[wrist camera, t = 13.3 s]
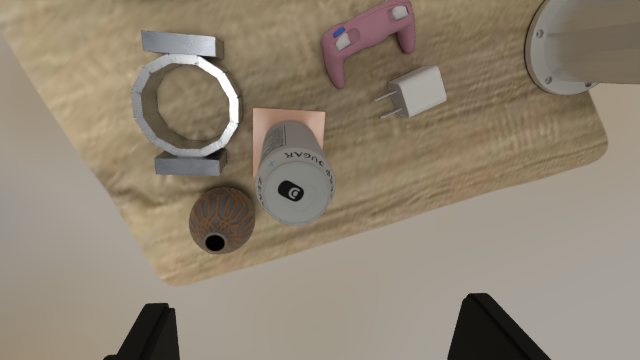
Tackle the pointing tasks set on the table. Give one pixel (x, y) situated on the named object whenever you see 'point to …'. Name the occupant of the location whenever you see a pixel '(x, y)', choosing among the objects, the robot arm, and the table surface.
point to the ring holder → (178, 150)
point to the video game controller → (367, 34)
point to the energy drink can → (293, 175)
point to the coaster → (271, 117)
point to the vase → (222, 220)
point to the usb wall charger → (416, 91)
